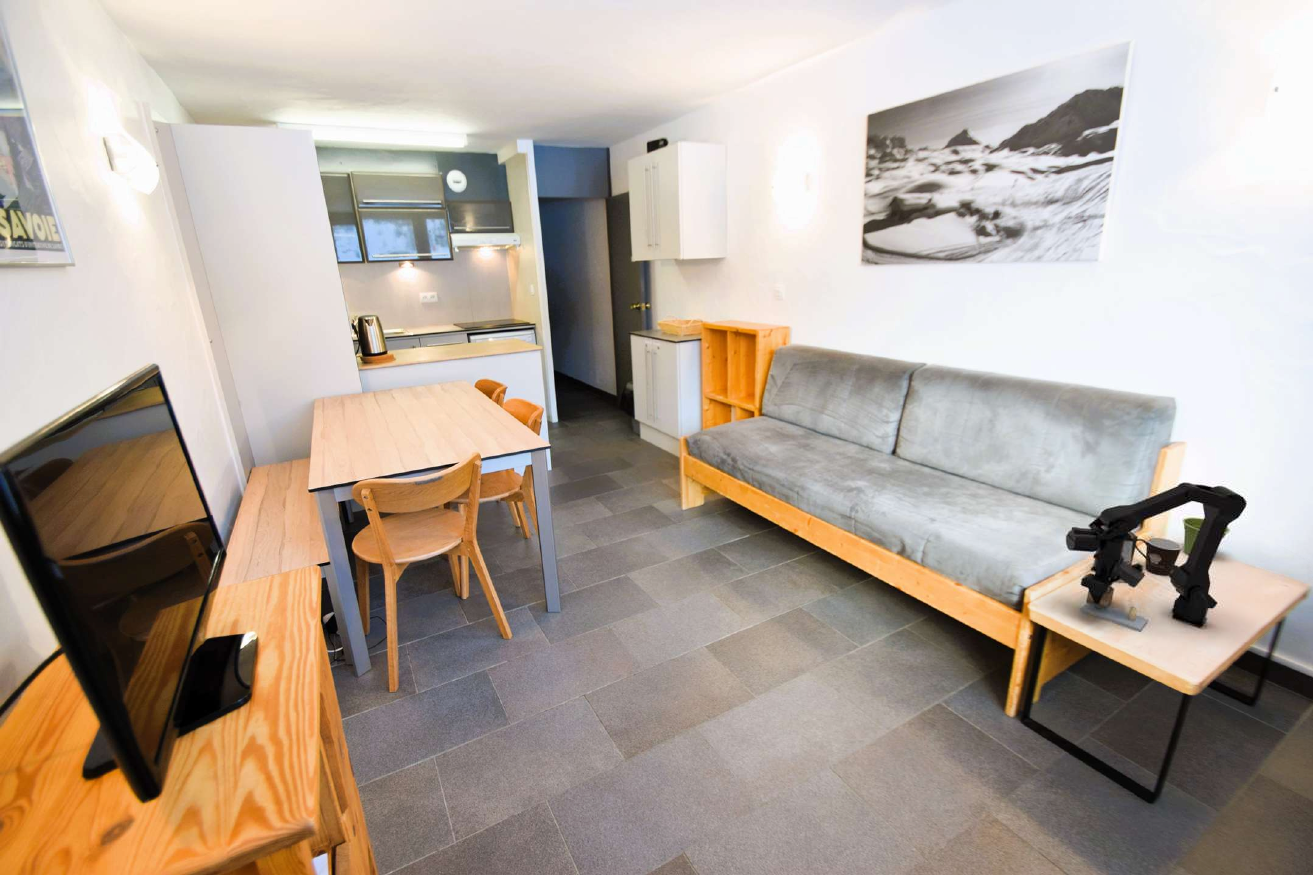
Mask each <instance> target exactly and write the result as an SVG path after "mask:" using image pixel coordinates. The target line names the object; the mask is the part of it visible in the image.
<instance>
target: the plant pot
mask: <svg viewBox="0 0 1313 875" xmlns="http://www.w3.org/2000/svg"><path fill="white" fill-rule="evenodd" d="M1203 520H1204V518H1200V517H1186V518H1183V519H1182V523H1183V528H1184V541H1183V543H1184V544H1183V552H1184V553H1185V554H1186V555H1189V554H1190V551H1191V549H1192V547H1193V544H1194V542H1195V539H1196V537H1197V534H1198V532H1199V530H1200V527H1201V525H1202V522H1203ZM1230 531H1231V529H1230V528H1229V527H1228V526H1227V528H1226V531H1225V533H1224V535H1223V538H1222V540H1223V539H1224V538H1225V536H1226V535H1227V534H1228V533H1230Z"/></svg>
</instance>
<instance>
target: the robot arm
mask: <svg viewBox="0 0 1313 875" xmlns="http://www.w3.org/2000/svg"><path fill="white" fill-rule="evenodd" d="M1191 502H1195V503H1199V504H1202V509H1203V514H1204V517H1203V519H1204V520H1203V522H1202V525H1201V527H1200V530H1199V532H1198V534H1197V537H1196V539H1195V542H1194V544H1193V547H1192V549H1191V551H1190V554H1188V556H1187V559H1186V561H1185V562H1184V563H1182V564H1181V565H1180V566H1179V565H1177V564H1175V565H1174V566H1173V570H1172V572H1171V574H1170V575H1169V576H1168V578H1170V580H1169V581H1170V584H1171V585H1172V587H1174V589H1175V591H1176V593H1178V594H1179V595H1178V597H1176V599H1175V600H1174V602H1173V605H1172V610H1171V613H1172V616H1171V618H1172V619H1174V620H1177V621H1181V622H1183V623H1186V624H1189V625H1192V626H1196V627H1198V628H1203V627H1204V625H1205V623H1206V622H1207V621H1208V617H1207V616H1208V612H1209V609H1214V608H1216V606H1217V605H1218V602H1217V601H1216V599H1215V598H1213V596H1211V594H1209V592H1210V587H1211V578H1210V573H1209V570H1210V567H1211V565H1212V564H1213V561H1214V558H1215V556H1216V553H1217V552H1218V549H1219V547H1220V544H1221V542H1222V540H1223V539H1224V538H1223V535H1224V533H1225V531H1226V528H1227V527H1228V526H1229V524H1231V523H1232V522H1234V521H1235V520H1238V519H1239V518H1240V516H1241V515H1242V514H1243V512H1244V511H1245V509H1246V507H1247V500H1246V499H1245V498H1244V496H1242V495H1241V494H1238V493H1237V492H1235V491H1233V490H1232V489H1229V488H1228V487H1226V486H1224V485H1217V486H1216V485H1215V486H1209V485H1205V484H1196V483H1195V484H1194V483H1190V482H1181V483H1179V484H1178V485H1177V486H1175V487H1172V488H1170V489H1167V490H1164V491H1162V492H1160V493H1157V494H1155V495H1153V496H1150V497H1148V498H1145V499H1142V500H1140V501H1137V502H1135V503H1133V504H1125V505H1124V504H1123V505H1122V504H1121V505H1117V506H1112V507H1108V508H1105V509H1103V510H1102V511H1101V512H1100V515H1098V516H1097V517H1096V518H1095V519H1093V521H1092V522H1090V523H1089V524H1088V527H1087V528H1085V527H1084V528H1082V527H1078V526H1072V527H1071V529H1070V530H1069V531H1068V532H1067V534H1066V535H1065V543H1066V547H1067V549H1068V550H1069V551H1070V552H1071V551H1074V552H1076V551H1077V552H1086V553H1087V552H1088V553H1094V552H1095V553H1094V554H1093V556H1092V558H1093V559H1094V560H1095V562H1094V561H1093V564H1092V566H1091V568H1090V571H1091V572H1094V574H1093V573H1087V574H1085V575H1084V576H1083V577H1082V578H1081V580H1080V585H1081V586H1082V587H1083V588H1087V589H1088V591H1090V594H1091V596H1092V599H1093V601H1094V603H1096V604H1099V603H1100V601H1101V599H1102V596H1103V594H1104V593H1107V592H1108V591H1110V590H1111V589H1112V588H1114V587H1113V586H1112V585H1113V584H1114V583H1117V582H1116V581H1118V580H1120V579H1121V580H1122V581H1124V582H1126V584H1127V585H1128V586H1129V587H1131V588H1136V587H1137V586H1138V584H1140V582H1141V581H1142V580H1143V579H1144V577H1145V576H1146V575H1145V573H1146V572H1144V565H1142V564H1141V563H1139V562H1136V563H1132V565H1131V564H1129V565H1128V564H1126V563H1125V562H1124V558H1123V556H1122V552H1123V547H1124V542H1125V541H1135V540H1134V539H1133V538H1132V537H1131V536H1130V534H1129V533H1128V532H1130V531H1131V532H1132V531H1134V530H1136V529H1137V528H1138V527H1139V526H1140V525H1141V524H1142V523H1143V522H1144V521H1146V520H1149V519H1150V518H1153V517H1155V516H1157V515H1161V514H1163V513H1166V512H1169V511H1171V510H1173V509H1175V508H1178V507H1181V506H1183V505H1186V504H1189V503H1191ZM1103 525H1104V526H1105V527H1106V528H1107V529H1108V530H1106V531H1105V530H1104V529H1103V528H1102V527H1101V526H1103ZM1222 538H1223V539H1222ZM1124 582H1123V583H1124Z"/></svg>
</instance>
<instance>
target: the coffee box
mask: <svg viewBox="0 0 1313 875" xmlns="http://www.w3.org/2000/svg"><path fill="white" fill-rule="evenodd" d="M1101 527H1102V528H1103V529H1104V530H1105V531H1106V530H1108V529H1107V528H1106V527H1105V526H1104V525H1103V526H1101ZM1128 533H1129V534H1130V536H1131V537H1132V538H1133V539H1134V540H1135V541H1125V542H1124V547H1123V552H1122V556H1123V558H1124V562H1125V563H1126V564H1128V565H1129V564H1131V565H1133V561H1134V555H1135V551H1136V548H1135V547H1136V545H1137V542H1138V541H1137V539H1139V536H1137V535H1136V534H1135V533H1133V532H1132V531H1130V532H1128ZM1094 562H1095V559H1094V560H1093V563H1094ZM1115 583H1124V584H1125V583H1126V582H1124V581H1122V580H1121V579H1120V580H1118V581H1116V582H1115ZM1126 584H1127V583H1126Z"/></svg>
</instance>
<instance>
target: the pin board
mask: <svg viewBox="0 0 1313 875" xmlns="http://www.w3.org/2000/svg"><path fill="white" fill-rule="evenodd" d="M1080 610H1081V612H1083V613H1085V614H1089V615H1091V616H1095V617H1097V618H1101V619H1102V620H1105V621H1108V622H1111V623H1114V624H1116V625H1119V626H1122V627H1125V628H1127V629H1130V630H1133V631H1136V632H1138V633H1141V632H1142V631H1143V630H1144V628H1145V627H1146V626H1147V624H1148V622H1149V619H1148V618H1145V617H1143V616H1141V615H1138V614H1137V613H1138V608H1136V607H1133V606H1131V607H1129V610H1128V611H1125V610H1123V609H1120V608H1117V607H1114V606H1111V605H1110V606H1109V607H1108V608H1107V609H1106V610H1105V609H1102V608H1099V607H1097V606H1094V605H1091V604H1088V603H1086V602H1085V603H1084V604H1083V605H1082V607H1081V608H1080Z"/></svg>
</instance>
